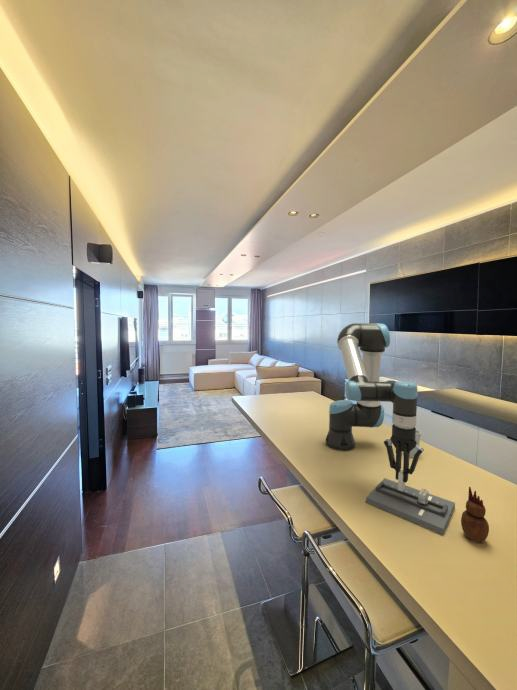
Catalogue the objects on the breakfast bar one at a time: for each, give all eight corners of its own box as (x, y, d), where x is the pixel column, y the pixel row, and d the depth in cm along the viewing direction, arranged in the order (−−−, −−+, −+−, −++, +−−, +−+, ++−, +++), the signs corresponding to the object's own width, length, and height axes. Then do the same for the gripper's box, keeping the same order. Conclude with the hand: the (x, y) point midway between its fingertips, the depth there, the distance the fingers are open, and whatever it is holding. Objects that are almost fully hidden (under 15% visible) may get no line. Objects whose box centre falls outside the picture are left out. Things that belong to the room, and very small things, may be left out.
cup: (422, 459, 140) (423, 434, 139) (404, 457, 141) (405, 433, 141) (416, 452, 148) (417, 428, 147) (399, 450, 149) (400, 427, 148)
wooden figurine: (456, 530, 92) (458, 484, 90) (473, 529, 92) (476, 483, 91) (473, 547, 85) (476, 497, 84) (492, 545, 85) (495, 496, 84)
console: (365, 502, 106) (366, 493, 106) (384, 482, 119) (384, 474, 119) (443, 535, 90) (443, 524, 89) (454, 508, 103) (455, 498, 102)
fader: (416, 505, 101) (416, 492, 100) (420, 499, 104) (420, 487, 104) (426, 509, 99) (426, 496, 98) (429, 503, 102) (430, 490, 102)
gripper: (381, 423, 106) (379, 486, 108) (421, 433, 97) (418, 501, 99) (388, 418, 111) (386, 478, 113) (427, 427, 103) (424, 491, 105)
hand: (401, 489), depth 106 cm, fingers closed
